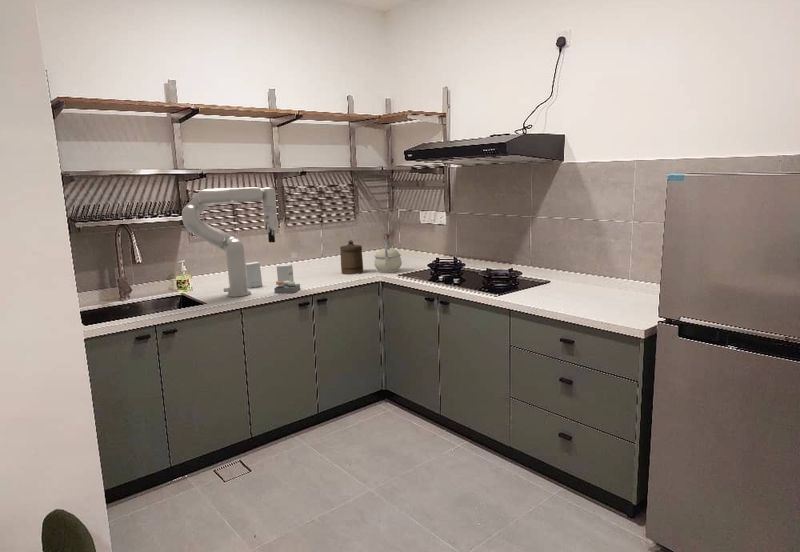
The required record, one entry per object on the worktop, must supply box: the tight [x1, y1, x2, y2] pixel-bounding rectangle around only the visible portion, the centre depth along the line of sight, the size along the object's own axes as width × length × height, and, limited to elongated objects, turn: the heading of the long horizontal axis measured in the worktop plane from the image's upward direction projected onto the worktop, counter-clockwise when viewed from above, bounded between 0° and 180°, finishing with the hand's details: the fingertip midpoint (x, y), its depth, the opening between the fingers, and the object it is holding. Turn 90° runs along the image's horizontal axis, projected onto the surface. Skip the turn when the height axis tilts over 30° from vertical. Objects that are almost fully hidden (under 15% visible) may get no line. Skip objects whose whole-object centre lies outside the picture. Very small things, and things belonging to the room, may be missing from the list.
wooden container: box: [339, 239, 364, 275], centre depth 355 cm, size 15×15×22 cm
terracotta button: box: [275, 280, 283, 286], centre depth 294 cm, size 4×4×2 cm
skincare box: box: [245, 261, 263, 289], centre depth 318 cm, size 8×6×15 cm
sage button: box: [288, 281, 296, 286], centre depth 295 cm, size 4×4×2 cm
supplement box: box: [276, 263, 295, 286], centre depth 316 cm, size 7×7×13 cm
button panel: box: [273, 283, 301, 294], centre depth 298 cm, size 11×12×3 cm
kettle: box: [374, 233, 403, 274], centre depth 350 cm, size 25×18×25 cm
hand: (271, 242), depth 298 cm, fingers closed
